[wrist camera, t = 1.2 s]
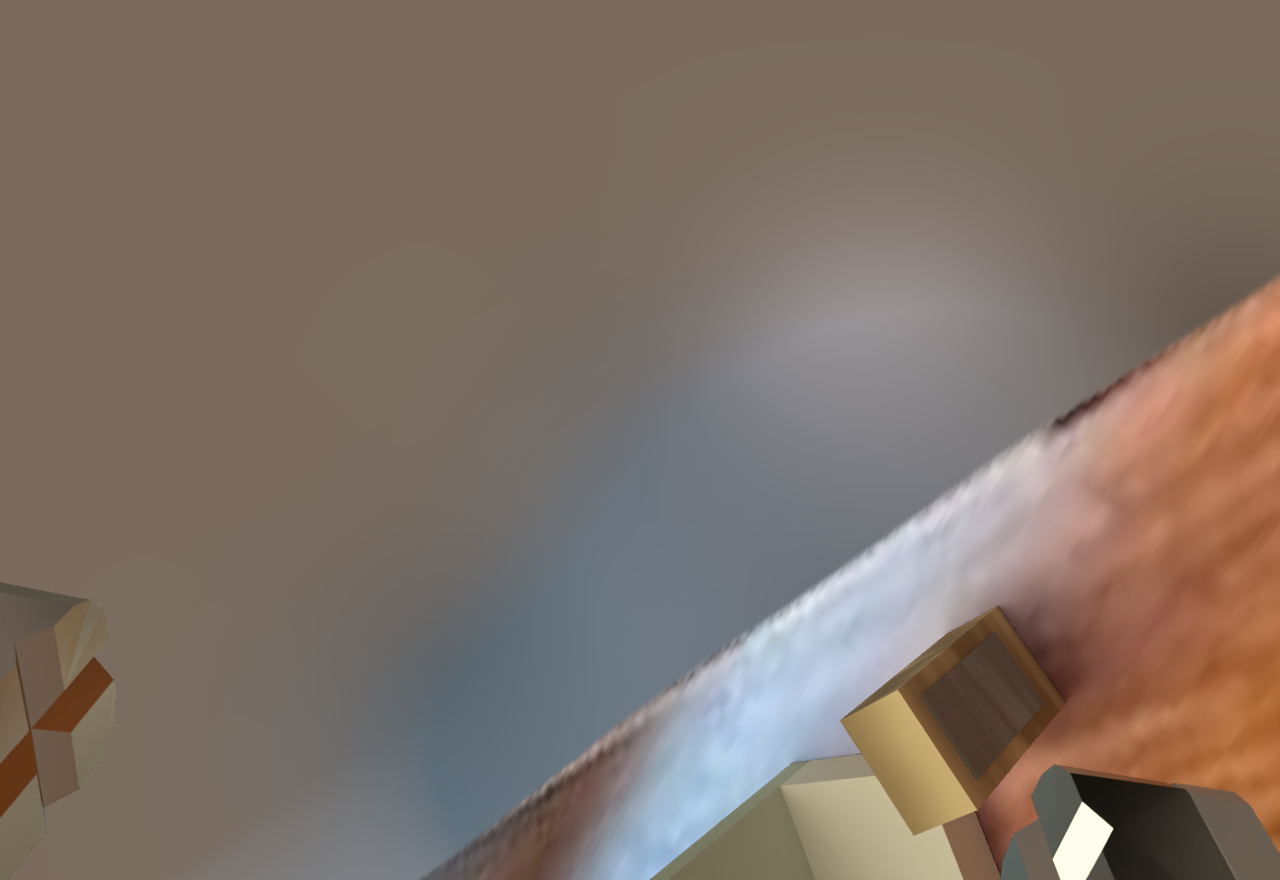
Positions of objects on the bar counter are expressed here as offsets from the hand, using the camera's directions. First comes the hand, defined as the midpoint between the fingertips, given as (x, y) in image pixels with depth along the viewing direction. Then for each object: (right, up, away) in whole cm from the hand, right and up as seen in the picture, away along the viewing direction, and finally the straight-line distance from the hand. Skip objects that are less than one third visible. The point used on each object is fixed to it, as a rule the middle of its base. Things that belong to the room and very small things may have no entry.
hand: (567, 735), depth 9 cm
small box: (+17, -8, +35) cm, 40 cm away
